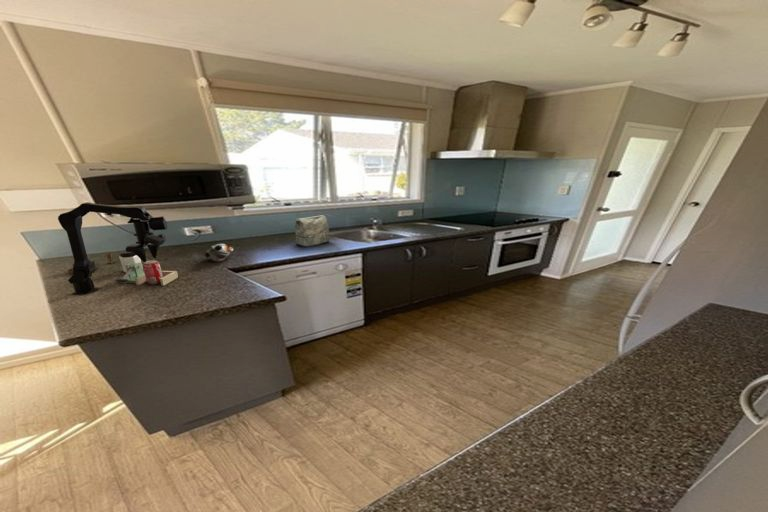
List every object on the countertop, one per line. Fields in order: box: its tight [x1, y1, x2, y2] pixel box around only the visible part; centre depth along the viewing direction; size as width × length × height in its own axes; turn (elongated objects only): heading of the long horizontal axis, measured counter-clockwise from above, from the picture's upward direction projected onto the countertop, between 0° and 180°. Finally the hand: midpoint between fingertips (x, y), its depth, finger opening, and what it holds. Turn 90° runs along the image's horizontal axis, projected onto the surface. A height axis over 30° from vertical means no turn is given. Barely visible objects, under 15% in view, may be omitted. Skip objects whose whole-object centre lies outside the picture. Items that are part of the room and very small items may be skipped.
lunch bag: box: [294, 214, 330, 248], centre depth 230 cm, size 26×18×22 cm
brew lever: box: [115, 264, 135, 283], centre depth 153 cm, size 12×5×2 cm, turn 0°
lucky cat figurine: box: [204, 243, 235, 263], centre depth 189 cm, size 15×12×14 cm
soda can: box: [142, 259, 163, 285], centre depth 152 cm, size 7×7×12 cm
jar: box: [118, 249, 143, 274], centre depth 168 cm, size 9×8×12 cm
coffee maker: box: [118, 262, 145, 284], centre depth 157 cm, size 12×10×9 cm
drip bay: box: [135, 270, 179, 287], centre depth 155 cm, size 11×14×4 cm
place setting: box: [67, 253, 116, 275], centre depth 170 cm, size 18×20×6 cm
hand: (150, 259), depth 150 cm, fingers open, 6 cm apart
